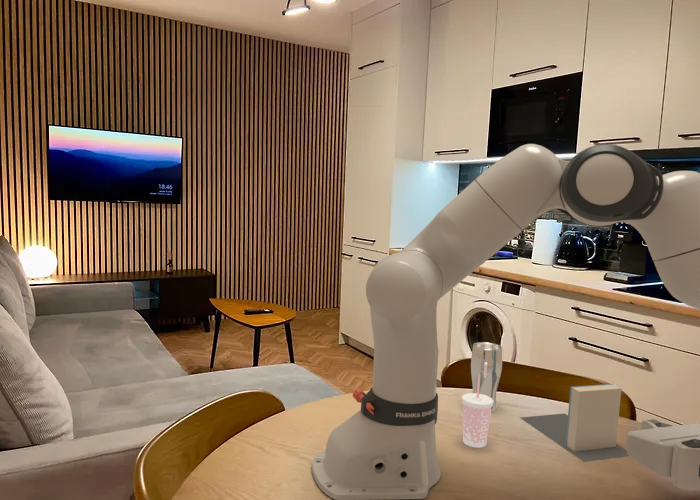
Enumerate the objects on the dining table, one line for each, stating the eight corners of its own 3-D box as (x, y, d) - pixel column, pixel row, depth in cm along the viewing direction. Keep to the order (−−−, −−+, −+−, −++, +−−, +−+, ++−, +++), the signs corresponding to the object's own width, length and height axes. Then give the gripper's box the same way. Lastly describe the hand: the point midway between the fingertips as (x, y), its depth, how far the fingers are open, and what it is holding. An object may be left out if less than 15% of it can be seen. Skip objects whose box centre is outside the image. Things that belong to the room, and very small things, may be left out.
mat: (583, 463, 96) (583, 461, 96) (519, 419, 116) (519, 417, 115) (634, 457, 100) (635, 455, 100) (564, 415, 119) (564, 413, 119)
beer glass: (502, 415, 117) (507, 350, 116) (471, 413, 117) (476, 349, 116) (494, 403, 124) (498, 342, 123) (465, 402, 124) (469, 341, 123)
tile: (574, 451, 100) (579, 391, 99) (565, 445, 103) (570, 386, 102) (615, 446, 103) (621, 388, 102) (606, 440, 106) (611, 384, 104)
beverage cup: (466, 450, 100) (471, 379, 98) (454, 436, 106) (458, 369, 104) (495, 448, 101) (501, 378, 100) (481, 434, 107) (486, 368, 106)
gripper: (777, 435, 80) (695, 401, 93) (675, 448, 74) (602, 411, 87) (773, 474, 80) (691, 435, 94) (671, 490, 75) (599, 446, 88)
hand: (648, 423), depth 90 cm, fingers closed
